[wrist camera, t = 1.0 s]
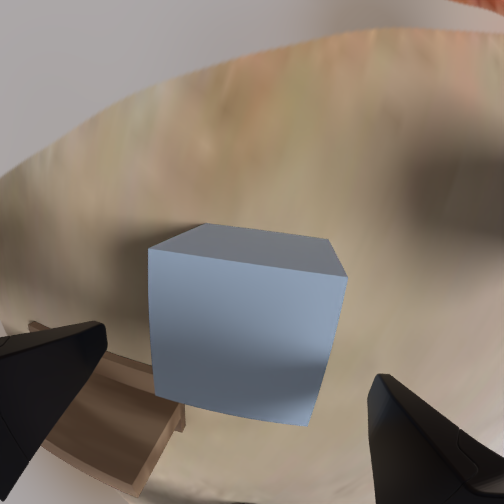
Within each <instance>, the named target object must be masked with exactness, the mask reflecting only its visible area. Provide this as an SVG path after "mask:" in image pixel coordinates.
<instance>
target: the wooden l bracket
mask: <svg viewBox="0 0 504 504" xmlns="http://www.w3.org/2000/svg"><path fill="white" fill-rule="evenodd" d="M28 327H29V331H30V332H36V331H41V330H47V329H50V328H48V327H46V326H43V325H41V324H39V323H37V322H35V321H34V322H32V323H30V324H29V325H28ZM185 426H186V424H185V404H183V403H179V402H175V401H172V400H169V399H165V398H162V397H159V396H155V388H154V379H153V368H152V366H150V365H146V364H143V363H140V362H137V361H134V360H131V359H127V358H124V357H121V356H118V355H116V354H113V353H110V352H107V351H106V352H105V353H104V355H103V357H102V358H101V360H100V361H99V363H98V365H97V366H96V368H95V370H94V371H93V373H92V375H91V376H90V378H89V379H88V381H87V382H86V384H85V385H84V386H83V388H82V389H81V390H80V392H79V393H78V394H77V396H76V397H75V398H74V400H73V401H72V402H71V404H70V405H69V407H68V408H67V409H66V411H65V412H64V413H63V415H62V416H61V417H60V419H59V420H58V422H57V423H56V424H55V426H54V427H53V429H52V430H51V431H50V433H49V434H48V436H47V437H46V438H45V440H44V441H43V443H42V444H41V446H42V447H43V448H45V449H46V450H48V451H49V452H51V453H52V454H54V455H55V456H57V457H59V458H60V459H62V460H63V461H65V462H67V463H68V464H70V465H72V466H73V467H75V468H77V469H79V470H80V471H82V472H84V473H86V474H88V475H89V476H91V477H93V478H95V479H97V480H99V481H101V482H103V483H105V484H107V485H109V486H111V487H113V488H116V489H118V490H120V491H122V492H125V493H127V494H129V495H132V496H134V497H136V498H138V497H139V495H140V493H141V491H142V489H143V488H144V486H145V484H146V482H147V480H148V478H149V476H150V475H151V473H152V471H153V469H154V467H155V465H156V463H157V462H158V460H159V458H160V456H161V454H162V452H163V450H164V449H165V447H166V445H167V443H168V441H169V439H170V437H171V435H172V433H173V432H174V430H175V431H178V432H183V430H184V428H185Z"/></svg>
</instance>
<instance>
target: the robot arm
mask: <svg viewBox="0 0 504 504" xmlns="http://www.w3.org/2000/svg"><path fill="white" fill-rule="evenodd" d="M107 346H108V343H107V335H106V328H105V325H104V324H103V323H100V322H97V321H89V322H84V323H79V324H74V325H69V326H63V327H58V328H52V329H47V330H41V331H36V332H30V333H24V334H18V335H12V336H11V337H10V336H6V337H0V500H1V501H5V499H6V498H7V496H8V495H9V493H10V491H11V490H12V488H13V487H14V485H15V484H16V482H17V480H18V479H19V477H20V476H21V474H22V473H23V471H24V470H25V468H26V467H27V465H28V463H29V461H30V460H31V459H32V457H33V456H34V454H35V453H36V451H37V450H38V449H39V447H40V446H41V444H42V443H43V441H44V440H45V438H46V437H47V436H48V434H49V433H50V431H51V430H52V429H53V427H54V426H55V424H56V423H57V422H58V420H59V419H60V417H61V416H62V415H63V413H64V412H65V411H66V409H67V408H68V407H69V405H70V404H71V402H72V401H73V400H74V398H75V397H76V396H77V394H78V393H79V392H80V390H81V389H82V388H83V386H84V385H85V384H86V382H87V381H88V379H89V378H90V376H91V375H92V373H93V371H94V370H95V368H96V366H97V365H98V363H99V361H100V360H101V358H102V357H103V355H104V353H105V352H106V350H107ZM367 404H368V436H369V447H370V454H371V462H372V470H373V479H374V488H375V499H376V504H504V457H502V456H500V455H499V454H497V453H495V452H494V451H492V450H490V449H489V448H487V447H486V446H484V445H482V444H481V443H479V442H478V441H477V440H475V439H474V438H472V437H471V436H470V435H468V434H467V433H466V432H464V431H463V430H462V429H459V427H458V426H456V425H455V424H454V423H452V422H451V421H450V420H448V419H447V418H446V417H444V416H443V415H442V414H441V413H439V412H438V411H437V410H435V409H434V408H433V407H431V406H430V405H429V404H428V403H426V402H425V401H424V400H422V399H421V398H420V397H418V396H417V395H416V394H415V393H413V392H412V391H411V390H409V389H408V388H407V387H405V386H404V385H403V384H402V383H400V382H399V381H398V380H396V379H395V378H394V377H393V376H391V375H390V374H377V375H376V376H375V379H374V381H373V384H372V386H371V389H370V391H369V394H368V398H367Z"/></svg>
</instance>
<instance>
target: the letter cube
mask: <svg viewBox="0 0 504 504" xmlns="http://www.w3.org/2000/svg"><path fill="white" fill-rule="evenodd" d="M347 280H348V276H347V274H346V272H345V270H344V268H343V266H342V264H341V263H340V261H339V259H338V257H337V255H336V253H335V251H334V249H333V247H332V245H331V243H330V242H329V240H328V239H322V238H315V237H308V236H301V235H294V234H287V233H279V232H272V231H264V230H256V229H249V228H241V227H233V226H225V225H217V224H208V223H205V224H203V225H200V226H198V227H196V228H193V229H191V230H189V231H186V232H184V233H182V234H179V235H177V236H175V237H173V238H170V239H168V240H166V241H164V242H161V243H159V244H157V245H155V246H152V247H150V248H148V300H149V325H150V343H151V356H152V368H153V379H154V388H155V396H159V397H162V398H165V399H169V400H172V401H175V402H179V403H183V404H186V405H190V406H194V407H198V408H202V409H206V410H210V411H215V412H219V413H224V414H229V415H233V416H239V417H244V418H249V419H255V420H261V421H268V422H275V423H282V424H290V425H299V426H308V423H309V420H310V417H311V415H312V412H313V409H314V405H315V402H316V399H317V396H318V393H319V390H320V386H321V383H322V380H323V376H324V373H325V370H326V366H327V363H328V359H329V355H330V352H331V348H332V344H333V340H334V337H335V333H336V329H337V325H338V320H339V316H340V312H341V308H342V303H343V299H344V294H345V289H346V285H347Z"/></svg>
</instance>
